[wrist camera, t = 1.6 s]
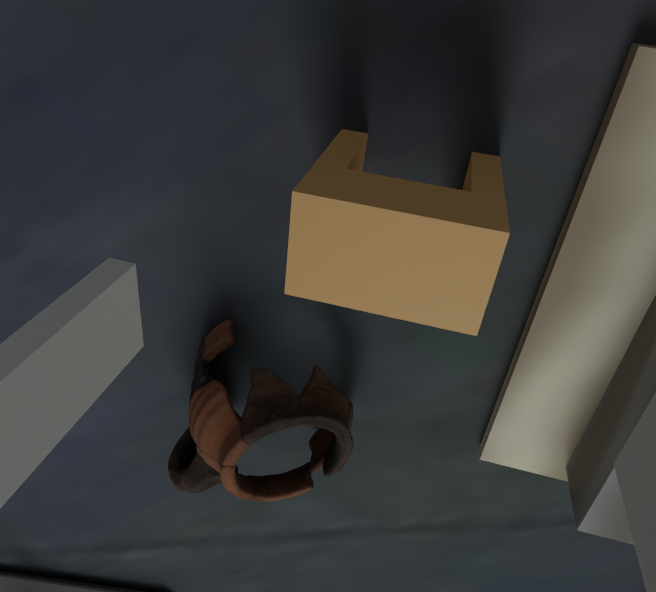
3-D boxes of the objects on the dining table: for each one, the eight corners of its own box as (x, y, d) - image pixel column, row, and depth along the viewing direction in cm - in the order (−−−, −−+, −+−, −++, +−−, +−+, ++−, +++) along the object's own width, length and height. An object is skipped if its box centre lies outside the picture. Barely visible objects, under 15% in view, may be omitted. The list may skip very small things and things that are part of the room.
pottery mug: (249, 273, 30) (282, 382, 24) (355, 338, 36) (403, 439, 30) (121, 403, 34) (123, 527, 28) (238, 443, 39) (260, 553, 33)
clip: (332, 210, 26) (284, 293, 20) (342, 128, 24) (292, 191, 18) (476, 239, 26) (476, 336, 19) (499, 156, 23) (509, 233, 17)
